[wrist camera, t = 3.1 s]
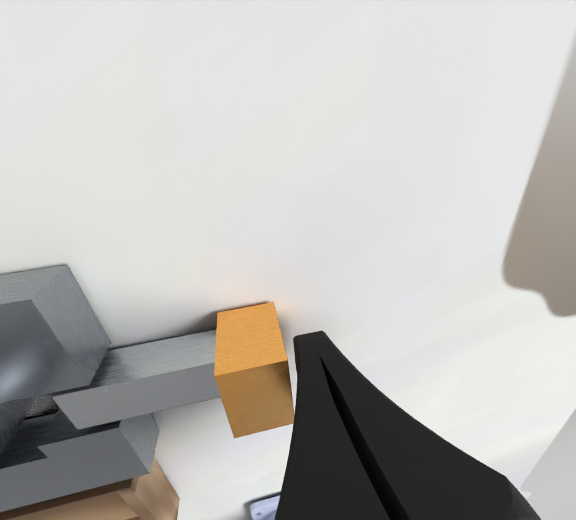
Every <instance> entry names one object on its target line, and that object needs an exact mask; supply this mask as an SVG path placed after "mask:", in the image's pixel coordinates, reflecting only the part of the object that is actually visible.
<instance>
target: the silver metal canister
mask: <svg viewBox="0 0 576 520" xmlns="http://www.w3.org/2000/svg"><path fill="white" fill-rule="evenodd" d="M37 398H38V396H35V397H30V398H25V399H20V400H16V401H11V402H6V403H1V404H0V454H1V452H2V451H3V449H4V448H5V446H6V445H7V443H8V442H9V440H10V439H11V437H12V436H13V434H14V433H15V432H16V430H17V429H18V427H19V426H20V424H21V423H22V421H23V420H24V418H25V417H26V415H27V414H28V412H29V411H30V409H31V408H32V406H33V405H34V403H35V402H36V400H37Z"/></svg>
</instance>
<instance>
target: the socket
mask: <svg viewBox="0 0 576 520" xmlns="http://www.w3.org/2000/svg"><path fill="white" fill-rule="evenodd" d="M110 344H111V342H110V340H109V338H108V336H107V334H106V333H105V331H104V329H103V327H102V325H101V324H100V322H99V320H98V318H97V316H96V315H95V313H94V311H93V309H92V307H91V306H90V304H89V302H88V300H87V298H86V297H85V295H84V293H83V291H82V289H81V288H80V286H79V284H78V282H77V281H76V279H75V277H74V275H73V273H72V272H71V270H70V268H69V266H68V265H63V266H56V267H50V268H43V269H37V270H30V271H24V272H17V273H11V274H5V275H0V404H1V403H6V402H11V401H16V400H20V399H25V398H30V397H35V396H39V395H44V394H49V393H54V392H58V391H63V390H68V389H73V388H77V387H82V386H87V385H90V383H91V381H92V379H93V377H94V375H95V373H96V371H97V369H98V367H99V365H100V363H101V361H102V359H103V357H104V356H105V354H106V352H107V350H108V348H109V346H110ZM158 434H159V428H158V426H157V424H156V422H155V421H154V419H153V417H152V415H151V413H148V414H144V415H140V416H135V417H131V418H127V419H122V420H118V421H114V422H109V423H105V424H101V425H96V426H92V427H88V428H83V429H79V430H78V429H77V428H76V427H75V426H74V424H73V423H72V422H71V421H70V419H69V418H68V417H67V416H66V415H65V413H64V412H63V411H62V410H61V408H59V410H58V412H57V413H55V414H51V415H46V416H42V417H37V418H32V419H28V420H23V421H22V423H21V424H20V426H19V427H18V429H17V430H16V432H15V433H14V434H13V436H12V437H11V439H10V440H9V442H8V443H7V445H6V446H5V448H4V449H3V451H2V452H1V454H0V512H3V511H7V510H11V509H15V508H18V507H22V506H26V505H30V504H34V503H38V502H42V501H46V500H49V499H53V498H57V497H61V496H65V495H69V494H73V493H77V492H81V491H84V490H88V489H92V488H96V487H100V486H104V485H108V484H112V483H115V482H119V481H123V480H127V479H131V478H135V477H139V476H143V475H146V474H150V471H151V466H152V462H153V457H154V452H155V448H156V443H157V439H158Z"/></svg>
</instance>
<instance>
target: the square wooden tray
mask: <svg viewBox="0 0 576 520" xmlns="http://www.w3.org/2000/svg"><path fill="white" fill-rule="evenodd" d="M179 499H180V498H179V496H178V495H177V493H176V492H175V490H174V488H173V487H172V485H171V484H170V482H169V481H168V479H167V477H166V476H165V474H164V473H163V471H162V469H161V468H160V466H159V465H158V463H157V462H156V460H155V458H154V457H153V462H152V466H151V471H150V474H146V475H143V476H139V477H135V478H131V479H127V480H123V481H119V482H115V483H112V484H108V485H104V486H100V487H96V488H92V489H88V490H84V491H81V492H77V493H73V494H69V495H65V496H61V497H57V498H53V499H49V500H46V501H42V502H38V503H34V504H30V505H26V506H22V507H18V508H15V509H11V510H7V511H3V512H0V520H177V515H178V507H179Z"/></svg>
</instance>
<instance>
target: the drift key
mask: <svg viewBox="0 0 576 520" xmlns="http://www.w3.org/2000/svg"><path fill="white" fill-rule="evenodd" d="M218 397H221V399H222V402H223V405H224V408H225V411H226V414H227V417H228V420H229V423H230V426H231V429H232V432H233V435H234V438H237V437H241V436H245V435H249V434H253V433H257V432H261V431H265V430H269V429H273V428H277V427H281V426H285V425H289V424H293V423H294V417H295V416H294V408H293V399H292V391H291V383H290V374H289V366H288V359H287V355H286V351H285V347H284V343H283V339H282V334H281V330H280V326H279V322H278V318H277V314H276V310H275V306H274V302H271V303H266V304H261V305H255V306H250V307H245V308H240V309H234V310H229V311H224V312H218V313H217V329H216V330H211V331H206V332H201V333H196V334H191V335H185V336H180V337H175V338H170V339H165V340H160V341H155V342H150V343H145V344H140V345H135V346H129V347H124V348H119V349H114V350H109V351H107V352H106V354H105V356H104V357H103V359H102V361H101V363H100V365H99V367H98V369H97V371H96V373H95V375H94V377H93V379H92V381H91V383H90V385H87V386H82V387H77V388H73V389H68V390H63V391H58V392H54V394H53V395H52V399H53V400H54V401H55V402H56V404H57V405H58V406H59V407H60V408H61V410H62V411H63V412H64V413H65V415H66V416H67V417H68V418H69V419H70V421H71V422H72V423H73V424H74V426H75V427H76V428H77V429H78V430H79V429H83V428H88V427H92V426H96V425H101V424H105V423H109V422H114V421H118V420H122V419H127V418H131V417H135V416H140V415H144V414H148V413H153V412H157V411H162V410H166V409H170V408H175V407H179V406H183V405H188V404H192V403H196V402H201V401H205V400H209V399H214V398H218Z"/></svg>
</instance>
